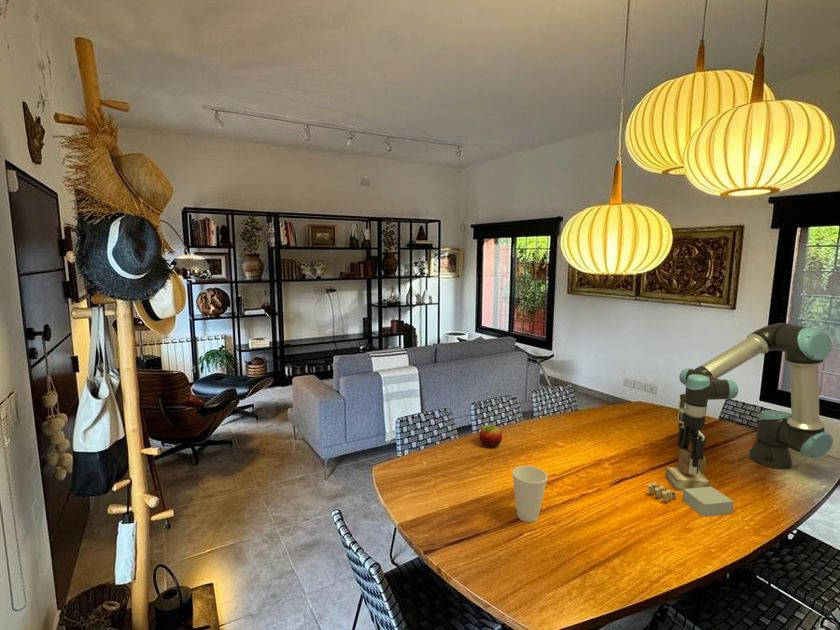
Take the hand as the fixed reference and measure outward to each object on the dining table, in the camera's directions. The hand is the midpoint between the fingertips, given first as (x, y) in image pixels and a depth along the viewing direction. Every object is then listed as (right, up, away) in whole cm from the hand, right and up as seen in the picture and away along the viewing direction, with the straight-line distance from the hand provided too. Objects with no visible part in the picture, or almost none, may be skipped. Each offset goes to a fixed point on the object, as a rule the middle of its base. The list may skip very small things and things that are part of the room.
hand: (687, 469), depth 176 cm
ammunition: (-15, -8, -8) cm, 19 cm away
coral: (+10, -5, +14) cm, 18 cm away
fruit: (-74, -1, +34) cm, 81 cm away
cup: (-69, -9, -21) cm, 73 cm away
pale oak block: (0, -7, +1) cm, 7 cm away
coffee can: (+40, +3, +66) cm, 77 cm away
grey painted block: (-1, -9, -14) cm, 17 cm away
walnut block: (0, 0, 0) cm, 0 cm away
